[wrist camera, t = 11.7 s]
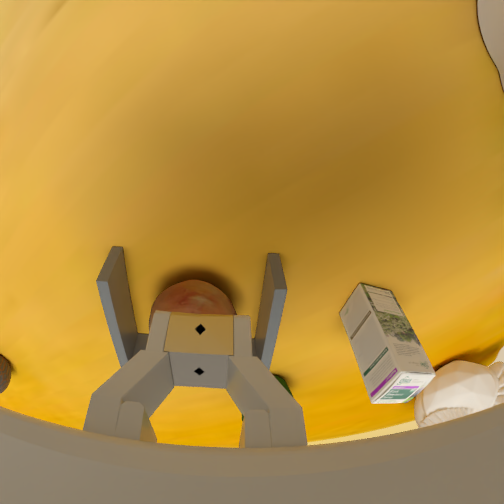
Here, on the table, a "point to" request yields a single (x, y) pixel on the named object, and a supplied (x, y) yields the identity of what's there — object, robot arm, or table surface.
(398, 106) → the table surface
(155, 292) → the table surface
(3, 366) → the vase
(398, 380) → the syrup box
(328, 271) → the table surface
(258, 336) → the box
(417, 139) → the table surface
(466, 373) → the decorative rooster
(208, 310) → the onion
